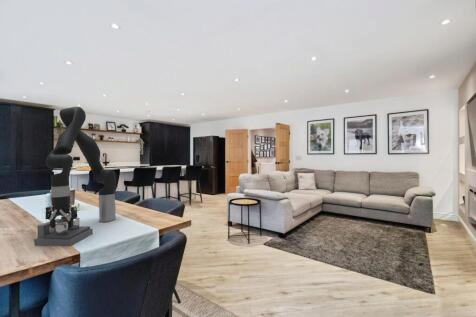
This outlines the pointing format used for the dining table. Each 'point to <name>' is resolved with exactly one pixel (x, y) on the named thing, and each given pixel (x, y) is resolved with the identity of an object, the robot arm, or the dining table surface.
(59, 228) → the steel spacer
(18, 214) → the dining table surface
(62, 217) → the cup
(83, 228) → the pan
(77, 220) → the steel spacer
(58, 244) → the scale base
